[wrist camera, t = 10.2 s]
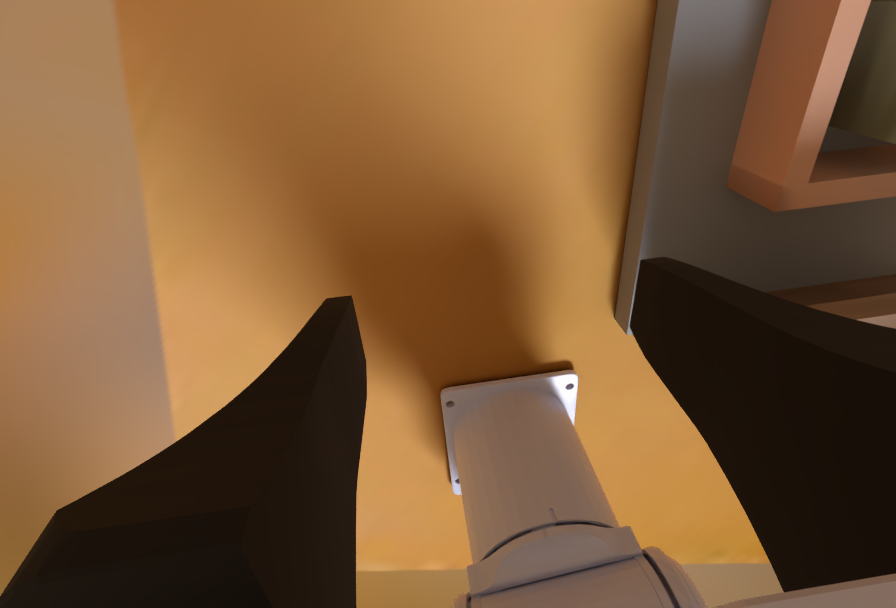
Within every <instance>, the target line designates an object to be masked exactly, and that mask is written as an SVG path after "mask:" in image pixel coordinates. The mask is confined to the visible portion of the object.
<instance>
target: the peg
mask: <svg viewBox="0 0 896 608" xmlns="http://www.w3.org/2000/svg"><path fill="white" fill-rule="evenodd" d="M828 126H830V127H834V128H837V129H841V130H845V131H849V132H853V133H856V134H860V135H864V136H868V137H871V138H875V139H879V140H883V141H886V142H890V143H894V144H896V0H871V2H870V5H869V8H868V11H867V14H866V16H865V19H864V22H863V25H862V28H861V31H860V34H859V37H858V40H857V43H856V45H855V48H854V51H853V54H852V57H851V60H850V63H849V66H848V69H847V72H846V74H845V77H844V80H843V83H842V86H841V89H840V92H839V95H838V98H837V100H836V103H835V106H834V109H833V112H832V115H831V118H830V121H829V124H828Z"/></svg>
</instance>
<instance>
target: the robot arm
mask: <svg viewBox="0 0 896 608" xmlns="http://www.w3.org/2000/svg"><path fill="white" fill-rule="evenodd" d="M629 327H630V329H631V331H632V333H633V335H634V337H635V339H636V341H637V343H638V345H639V347H640V349H641V350H642V352H643V354H644V356H645V358H646V359H647V361H648V362H649V364H650V365H651V366H652V368H653V369H654V371H655V372H656V373H657V375H658V376H659V378H660V379H661V380H662V382H663V383H664V384H665V386H666V387H667V388H668V390H669V391H670V393H671V394H672V395H673V397H674V398H675V399H676V401H677V402H678V403H679V405H680V406H681V407H682V409H683V410H684V411H685V413H686V414H687V416H688V417H689V418H690V420H691V421H692V422H693V424H694V425H695V426H696V428H697V429H698V431H699V432H700V434H701V435H702V437H703V438H704V440H705V441H706V443H707V444H708V446H709V448H710V450H711V451H712V453H713V455H714V456H715V458H716V460H717V462H718V463H719V465H720V467H721V468H722V470H723V472H724V474H725V475H726V477H727V479H728V481H729V483H730V484H731V486H732V488H733V490H734V492H735V494H736V496H737V497H738V499H739V501H740V503H741V505H742V507H743V509H744V510H745V512H746V514H747V516H748V518H749V520H750V522H751V524H752V526H753V528H754V530H755V532H756V534H757V536H758V538H759V540H760V542H761V544H762V546H763V548H764V550H765V552H766V554H767V557H768V559H769V561H770V563H771V565H772V567H773V569H774V571H775V574H776V576H777V578H778V580H779V582H780V585H781V587H782V589H783V591H784V593H778V594H773V595H766V596H761V597H755V598H749V599H743V600H738V601H734V602H731V603H728V604H724V605H721V606H717V607H714V608H896V329H895V328H890V327H885V326H880V325H876V324H871V323H867V322H863V321H859V320H855V319H851V318H847V317H843V316H840V315H836V314H832V313H828V312H825V311H821V310H817V309H814V308H811V307H807V306H804V305H801V304H798V303H795V302H792V301H789V300H786V299H783V298H780V297H777V296H774V295H771V294H768V293H765V292H762V291H759V290H756V289H754V288H751V287H748V286H746V285H743V284H740V283H738V282H735V281H732V280H730V279H727V278H724V277H722V276H719V275H717V274H714V273H711V272H709V271H706V270H703V269H701V268H698V267H695V266H693V265H690V264H687V263H684V262H681V261H678V260H675V259H671V258H667V257H658V258H650V259H642V260H640V266H639V272H638V278H637V284H636V290H635V296H634V302H633V308H632V314H631V320H630V326H629ZM569 383H571V384H570V385H567V384H569ZM566 385H567V386H566ZM577 387H578V375H577V374H576V372H575V371H573V370H564V371H557V372H550V373H543V374H536V375H530V376H523V377H516V378H509V379H502V380H495V381H488V382H482V383H475V384H468V385H461V386H454V387H448V388H445V389H443V390H442V391H441V393H440V397H441V405H442V412H443V420H444V428H445V436H446V443H447V451H448V459H449V467H450V475H451V482H452V490H453V493H455V494H457V495H461V494H462V500H463V506H464V512H465V518H466V524H467V531H468V537H469V543H470V549H471V555H472V561H473V564H472V565H469V566H468V567H467V575H468V581H469V588H470V592H468V593H463V594H459V595H457V596H456V598H455V599H454V603H453V606H452V608H707V606H706V604H705V602H704V600H703V598H702V597H701V595H700V593H699V591H698V590H697V588H696V586H695V585H694V583H693V582H692V580H691V579H690V577H689V576H688V574H687V573H686V572H685V570H684V569H683V568H682V567H681V565H680V564H679V563H678V562H676V561H675V560H674V559H672V558H671V557H669V556H667V555H666V554H665V553H664V552H663V551H661V550H660V549H659V548H657V547H654V546H651V547H647V548H644V549H641V548H640V546H639V544H638V542H637V540H636V538H635V535H634V533H633V531H632V529H631V527H630V526H624V527H620V526H619V524H618V522H617V520H616V518H615V515H614V513H613V511H612V509H611V507H610V504H609V502H608V500H607V498H606V496H605V493H604V491H603V489H602V487H601V485H600V482H599V480H598V478H597V476H596V474H595V472H594V469H593V467H592V465H591V463H590V461H589V458H588V456H587V454H586V452H585V450H584V447H583V445H582V443H581V441H580V439H579V436H578V434H577V432H576V430H575V428H574V420H575V409H576V398H577ZM366 399H367V376H366V358H365V354H364V349H363V345H362V340H361V336H360V331H359V327H358V322H357V317H356V313H355V308H354V304H353V299H352V296H344V297H335V298H327V299H326V300H325V301H324V302H323V303H322V305H321V306H320V307H319V308H318V309H317V311H316V312H315V313H314V314H313V316H312V317H311V318H310V320H309V321H308V322H307V323H306V325H305V326H304V327H303V328H302V330H301V331H300V332H299V333H298V334H297V336H296V337H295V338H294V339H293V340H292V342H291V343H290V344H289V345H288V346H287V347H286V349H285V350H284V351H283V352H282V353H281V354H280V355H279V356H278V357H277V358H276V359H275V360H274V361H273V362H272V363H271V365H270V366H269V367H268V368H267V369H266V370H265V371H264V372H263V373H262V374H261V375H260V376H259V377H258V378H257V379H256V380H255V381H253V382H252V383H251V384H250V385H249V386H248V387H247V388H246V389H245V390H243V391H242V392H241V393H240V394H239V395H238V396H237V397H235V398H234V399H233V400H232V401H231V402H229V403H228V404H227V405H226V406H225V407H223V408H222V409H221V410H219V411H218V412H217V413H215V414H214V415H213V416H211V417H210V418H209V419H207V420H206V421H205V422H203V423H202V424H201V425H199V426H198V427H197V428H195V429H194V430H193V431H191V432H190V433H188V434H187V435H186V436H184V437H183V438H181V439H180V440H178V441H177V442H175V443H174V444H172V445H171V446H169V447H168V448H166V449H165V450H163V451H162V452H160V453H159V454H157V455H155V456H153V457H152V458H150V459H149V460H147V461H145V462H144V463H142V464H140V465H139V466H137V467H136V468H134V469H133V470H131V471H129V472H127V473H125V474H124V475H122V476H120V477H118V478H117V479H115V480H113V481H111V482H109V483H107V484H105V485H104V486H102V487H100V488H98V489H97V490H94V491H93V492H91V493H89V494H87V495H85V496H83V497H82V498H80V499H78V500H76V501H74V502H72V503H70V504H69V505H67V506H65V507H63V508H61V509H59V510H57V511H56V513H55V514H54V516H53V517H52V519H51V520H50V522H49V523H48V524H47V526H46V527H45V529H44V531H43V532H42V534H41V535H40V537H39V538H38V540H37V541H36V543H35V544H34V546H33V547H32V549H31V550H30V552H29V554H28V555H27V556H26V558H25V560H24V561H23V562H22V564H21V566H20V567H19V569H18V570H17V572H16V573H15V575H14V576H13V578H12V579H11V581H10V582H9V584H8V585H7V587H6V588H5V590H4V592H3V593H2V595H1V596H0V608H356V491H357V477H358V468H359V460H360V451H361V443H362V434H363V426H364V417H365V408H366ZM449 401H453V402H451V403H447V402H449Z"/></svg>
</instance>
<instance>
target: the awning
mask: <svg viewBox="0 0 896 608" xmlns="http://www.w3.org/2000/svg"><path fill="white" fill-rule="evenodd" d="M765 293H768V294H771V295H774V296H777V297H780V298H783V299H786V300H789V301H792V302H795V303H798V304H801V305H804V306H807V307H811V308H814V309H817V310H821V311H825V312H828V313H832V314H836V315H840V316H843V317H847V318H851V319H855V320H859V321H863V322H867V323H871V324H876V325H880V326H885V327H890V328H895V329H896V274H893V275H886V276H878V277H871V278H864V279H857V280H850V281H843V282H835V283H828V284H821V285H814V286H807V287H800V288H793V289H785V290H778V291H771V292H765Z"/></svg>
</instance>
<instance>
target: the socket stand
mask: <svg viewBox="0 0 896 608" xmlns="http://www.w3.org/2000/svg"><path fill="white" fill-rule="evenodd" d="M870 2H871V0H658V3H657V10H656V17H655V25H654V32H653V39H652V47H651V54H650V62H649V69H648V76H647V84H646V91H645V99H644V106H643V113H642V121H641V128H640V136H639V143H638V150H637V158H636V165H635V172H634V180H633V187H632V195H631V202H630V209H629V217H628V224H627V232H626V239H625V246H624V254H623V261H622V268H621V276H620V283H619V291H618V298H617V305H616V313H615V320H616V321H617V323H618V324H619V325H620V327H621V328H622V329H623V331H624V332H625V333H626V335H630V334H633V333H632V331H631V329H630V327H629V326H630V320H631V314H632V308H633V302H634V296H635V290H636V284H637V278H638V272H639V266H640V260H642V259H650V258H658V257H667V258H671V259H675V260H678V261H681V262H684V263H687V264H690V265H693V266H695V267H698V268H701V269H703V270H706V271H709V272H711V273H714V274H717V275H719V276H722V277H724V278H727V279H730V280H732V281H735V282H738V283H740V284H743V285H746V286H748V287H751V288H754V289H756V290H759V291H762V292H771V291H778V290H785V289H793V288H800V287H807V286H814V285H821V284H828V283H835V282H843V281H850V280H857V279H864V278H871V277H878V276H886V275H893V274H896V144H894V143H890V142H886V141H883V140H879V139H875V138H871V137H868V136H864V135H860V134H856V133H853V132H849V131H845V130H841V129H837V128H834V127H830V126H828V124H829V121H830V118H831V115H832V112H833V109H834V106H835V103H836V100H837V98H838V95H839V92H840V89H841V86H842V83H843V80H844V77H845V74H846V72H847V69H848V66H849V63H850V60H851V57H852V54H853V51H854V48H855V45H856V43H857V40H858V37H859V34H860V31H861V28H862V25H863V22H864V19H865V16H866V14H867V11H868V8H869V5H870Z"/></svg>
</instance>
